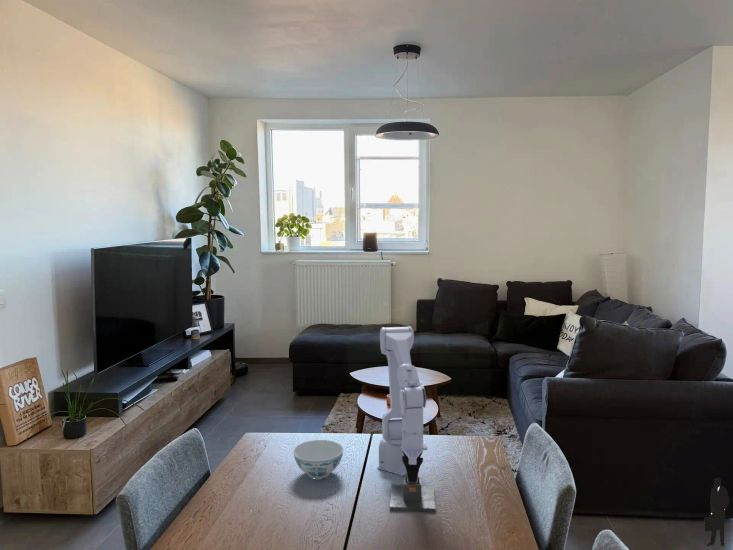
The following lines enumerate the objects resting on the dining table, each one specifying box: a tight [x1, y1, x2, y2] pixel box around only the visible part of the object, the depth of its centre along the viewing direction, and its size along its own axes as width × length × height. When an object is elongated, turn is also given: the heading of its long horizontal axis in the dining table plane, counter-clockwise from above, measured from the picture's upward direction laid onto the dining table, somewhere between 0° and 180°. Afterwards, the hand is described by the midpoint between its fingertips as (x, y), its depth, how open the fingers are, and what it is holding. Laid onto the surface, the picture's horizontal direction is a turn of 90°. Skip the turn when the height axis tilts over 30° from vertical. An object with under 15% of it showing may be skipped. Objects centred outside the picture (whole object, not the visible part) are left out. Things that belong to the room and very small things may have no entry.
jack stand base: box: [389, 475, 436, 513], centre depth 145 cm, size 12×12×6 cm
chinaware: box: [293, 439, 344, 480], centre depth 160 cm, size 15×15×8 cm
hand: (412, 478), depth 144 cm, fingers closed on column, 3 cm apart
